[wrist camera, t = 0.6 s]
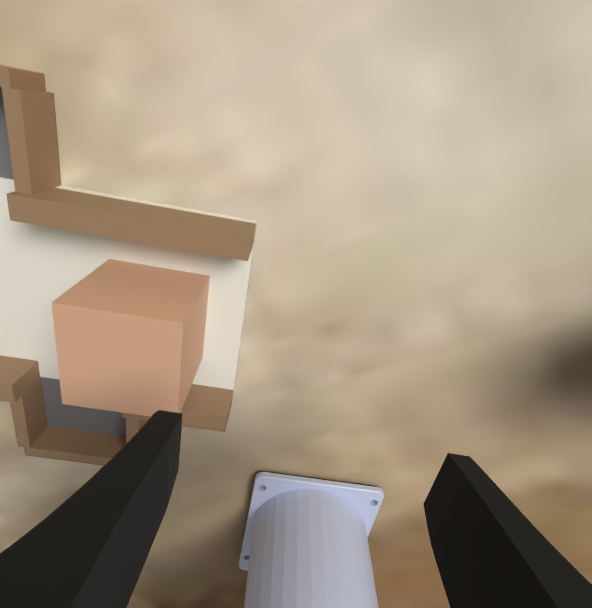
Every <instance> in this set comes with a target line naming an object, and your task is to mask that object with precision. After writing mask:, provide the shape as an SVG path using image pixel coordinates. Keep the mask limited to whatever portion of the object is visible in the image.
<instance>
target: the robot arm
mask: <svg viewBox="0 0 592 608" xmlns="http://www.w3.org/2000/svg"><path fill="white" fill-rule="evenodd" d="M181 427H182V413H176V412H169V411H162V410H158V411H157V412H155V413H154V414H153V415H152V416H151V417H150V419H149V420H148V421H147V422H146V423H145V424H144V425H143V426H142V428H141V429H140V430H139V431H138V432H137V433H136V434H135V435H134V436H133V437H132V438H131V439H130V440H129V441H128V443H127V444H126V445H125V446H124V447H123V448H122V449H121V450H120V451H119V452H118V453H117V454H116V455H115V456H114V457H113V458H112V459H111V460H110V461H109V462H108V463H107V464H106V465H104V466H103V467H102V468H101V469H100V470H99V471H98V472H97V473H96V474H95V475H94V476H93V477H92V478H91V479H90V480H89V481H88V482H86V483H85V484H84V485H83V486H82V487H81V488H80V489H79V490H78V491H76V492H75V493H74V494H73V495H72V496H71V497H70V498H69V499H67V500H66V501H65V502H64V503H63V504H62V505H61V506H59V507H58V508H57V509H56V510H55V511H54V512H52V513H51V514H50V515H49V516H48V517H46V518H45V519H44V520H43V521H42V522H40V523H39V524H38V525H37V526H35V527H34V528H33V529H32V530H30V531H29V532H28V533H26V534H25V535H24V536H23V537H21V538H20V539H19V540H18V541H16V542H15V543H14V544H12V545H11V546H10V547H8V548H7V549H6V550H4V551H3V552H2V553H0V608H126V607H127V605H128V602H129V600H130V597H131V595H132V592H133V590H134V588H135V585H136V583H137V580H138V578H139V575H140V573H141V570H142V568H143V566H144V563H145V561H146V558H147V556H148V553H149V551H150V549H151V546H152V544H153V541H154V539H155V536H156V534H157V531H158V529H159V526H160V524H161V522H162V519H163V517H164V514H165V512H166V509H167V506H168V502H169V499H170V496H171V492H172V489H173V486H174V482H175V479H176V475H177V472H178V465H179V452H180V440H181ZM261 485H263V486H261ZM383 498H384V494H383V490H382V489H381V488H378V487H373V486H366V485H358V484H351V483H343V482H336V481H329V480H321V479H314V478H306V477H299V476H291V475H284V474H277V473H269V472H260V473H258V474H256V476H255V481H254V486H253V491H252V497H251V502H250V507H249V512H248V518H247V523H246V528H245V534H244V539H243V544H242V549H241V555H240V560H239V567H240V569H242V570H246V571H248V575H247V584H246V593H245V602H244V608H378V602H377V596H376V589H375V583H374V577H373V571H372V564H371V558H370V552H369V545H368V539H367V538H368V535H369V533H370V530H371V528H372V525H373V523H374V520H375V518H376V516H377V513H378V511H379V508H380V506H381V503H382V501H383ZM424 509H425V515H426V521H427V526H428V531H429V536H430V541H431V546H432V549H433V552H434V556H435V559H436V562H437V566H438V569H439V572H440V575H441V579H442V582H443V585H444V588H445V591H446V595H447V598H448V601H449V604H450V607H451V608H592V584H590V583H589V582H588V581H587V580H586V579H585V578H584V577H583V576H582V575H581V574H580V573H579V572H578V571H577V570H576V569H575V568H574V567H573V566H572V565H571V564H570V563H569V562H568V561H567V560H566V559H565V558H564V557H563V556H562V555H561V554H560V553H559V552H558V551H557V550H556V549H555V548H554V547H553V546H552V545H551V544H550V543H549V541H548V540H547V539H546V538H545V537H544V536H543V535H542V534H541V533H540V532H539V531H538V530H537V529H536V528H535V527H534V526H533V525H532V524H531V522H530V521H529V520H528V519H527V518H526V517H525V516H524V515H523V514H522V513H521V512H520V511H519V509H518V508H517V507H516V506H515V505H514V504H513V503H512V502H511V501H510V500H509V498H508V497H507V496H506V495H505V494H504V493H503V492H502V491H501V490H500V489H499V487H498V486H497V485H496V484H495V483H494V482H493V481H492V480H491V479H490V478H489V477H488V475H487V474H486V473H485V472H484V471H483V470H482V469H481V468H480V467H479V466H478V465H477V464H476V463H475V462H474V461H473V460H472V459H471V458H470V457H469V456H463V455H456V454H450V453H448V454H447V456H446V459H445V461H444V463H443V465H442V467H441V469H440V471H439V473H438V475H437V477H436V479H435V481H434V483H433V486H432V488H431V490H430V492H429V494H428V496H427V498H426V500H425V502H424Z"/></svg>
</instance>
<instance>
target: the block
mask: <svg viewBox="0 0 592 608" xmlns="http://www.w3.org/2000/svg"><path fill="white" fill-rule="evenodd" d="M209 281H210V276H209V275H203V274H197V273H191V272H185V271H179V270H173V269H167V268H161V267H155V266H149V265H143V264H137V263H131V262H126V261H120V260H114V259H108V260H107V261H106V262H104V263H103V264H102V265H100V266H99V267H98V268H96V269H95V270H94V271H92V272H91V273H90V274H88V275H87V276H86V277H84V278H83V279H82V280H80V281H79V282H78V283H76V284H75V285H74V286H72V287H71V288H70V289H68V290H67V291H66V292H65V293H63V294H62V295H61V296H59V297H58V298H57V299H55V300H54V301H53V302H51V303H52V313H53V322H54V331H55V341H56V350H57V360H58V369H59V379H60V388H61V398H62V404H66V405H73V406H80V407H87V408H94V409H101V410H108V411H115V412H122V413H129V414H136V415H143V416H150V417H151V416H152V415H153V414H154V413H155V412H157V411H158V410H162V411H169V412H176V413H181V410H182V408H183V405H184V403H185V400H186V398H187V395H188V393H189V390H190V388H191V385H192V383H193V380H194V378H195V375H196V373H197V370H198V368H199V365H200V363H201V360H202V358H203V348H204V337H205V326H206V315H207V303H208V292H209Z"/></svg>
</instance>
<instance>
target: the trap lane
mask: <svg viewBox="0 0 592 608" xmlns="http://www.w3.org/2000/svg"><path fill="white" fill-rule="evenodd" d="M256 227H257V221H256V220H250V219H245V218H239V217H233V216H228V215H222V214H217V213H211V212H206V211H200V210H194V209H189V208H183V207H178V206H172V205H167V204H161V203H155V202H150V201H144V200H139V199H133V198H128V197H122V196H116V195H111V194H105V193H100V192H94V191H89V190H83V189H77V188H72V187H66V186H61V180H60V168H59V155H58V143H57V131H56V119H55V107H54V94H53V93H50V92H45V82H44V74H42V73H37V72H32V71H27V70H22V69H17V68H11V67H6V66H1V65H0V400H3V401H10V403H11V409H12V414H13V420H14V425H15V431H16V437H17V442H18V446H21V447H24V449H25V455H29V456H36V457H44V458H51V459H59V460H66V461H74V462H82V463H89V464H97V465H106V464H107V463H108V462H109V461H110V460H111V459H112V458H113V457H114V456H115V455H116V454H117V453H118V452H119V451H120V450H121V449H122V448H123V447H124V446H125V445H126V444H127V443H128V441H129V440H130V439H131V438H132V437H133V436H134V435H135V434H136V433H137V432H138V431H139V430H140V429H141V428H142V426H143V425H144V424H145V423H146V422H147V421H148V420H149V419H150V416H143V415H136V414H129V413H122V412H115V411H108V410H101V409H94V408H87V407H80V406H73V405H66V404H62V398H61V388H60V379H59V369H58V360H57V350H56V341H55V331H54V322H53V313H52V303H51V302H53V301H54V300H55V299H57V298H58V297H59V296H61V295H62V294H63V293H65V292H66V291H67V290H68V289H70V288H71V287H72V286H74V285H75V284H76V283H78V282H79V281H80V280H82V279H83V278H84V277H86V276H87V275H88V274H90V273H91V272H92V271H94V270H95V269H96V268H98V267H99V266H100V265H102V264H103V263H104V262H106V261H107V260H108V259H114V260H120V261H126V262H131V263H137V264H143V265H149V266H155V267H161V268H167V269H173V270H179V271H185V272H191V273H197V274H203V275H209V276H210V281H209V292H208V303H207V315H206V326H205V337H204V348H203V358H202V360H201V363H200V365H199V368H198V370H197V373H196V375H195V378H194V380H193V383H192V385H191V388H190V390H189V393H188V395H187V398H186V400H185V403H184V405H183V408H182V410H181V413H182V426H187V427H194V428H201V429H208V430H215V431H223V432H225V430H226V426H227V421H228V417H229V413H230V409H231V404H232V400H233V394H234V387H235V380H236V372H237V365H238V358H239V351H240V343H241V336H242V329H243V321H244V314H245V307H246V300H247V292H248V285H249V278H250V270H251V263H252V256H253V249H254V241H255V234H256Z"/></svg>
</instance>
